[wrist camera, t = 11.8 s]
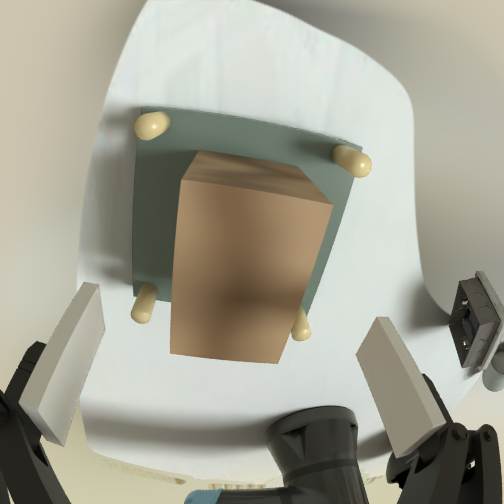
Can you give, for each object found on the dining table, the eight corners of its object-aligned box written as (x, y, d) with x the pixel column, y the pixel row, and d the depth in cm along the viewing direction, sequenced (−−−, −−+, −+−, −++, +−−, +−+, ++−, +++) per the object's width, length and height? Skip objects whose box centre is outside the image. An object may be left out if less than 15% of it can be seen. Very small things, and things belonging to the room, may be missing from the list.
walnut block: (298, 166, 20) (333, 204, 13) (265, 292, 26) (277, 363, 19) (199, 149, 19) (181, 179, 12) (183, 282, 24) (170, 353, 17)
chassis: (355, 144, 21) (384, 156, 17) (303, 307, 29) (314, 343, 24) (147, 106, 19) (125, 109, 14) (137, 286, 26) (123, 322, 22)
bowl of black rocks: (367, 458, 56) (384, 518, 40) (391, 424, 46) (418, 501, 30) (432, 436, 57) (453, 488, 40) (464, 396, 47) (495, 459, 30)
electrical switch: (466, 320, 33) (494, 367, 25) (437, 329, 34) (464, 380, 26) (480, 266, 29) (520, 313, 21) (450, 275, 29) (488, 327, 21)
